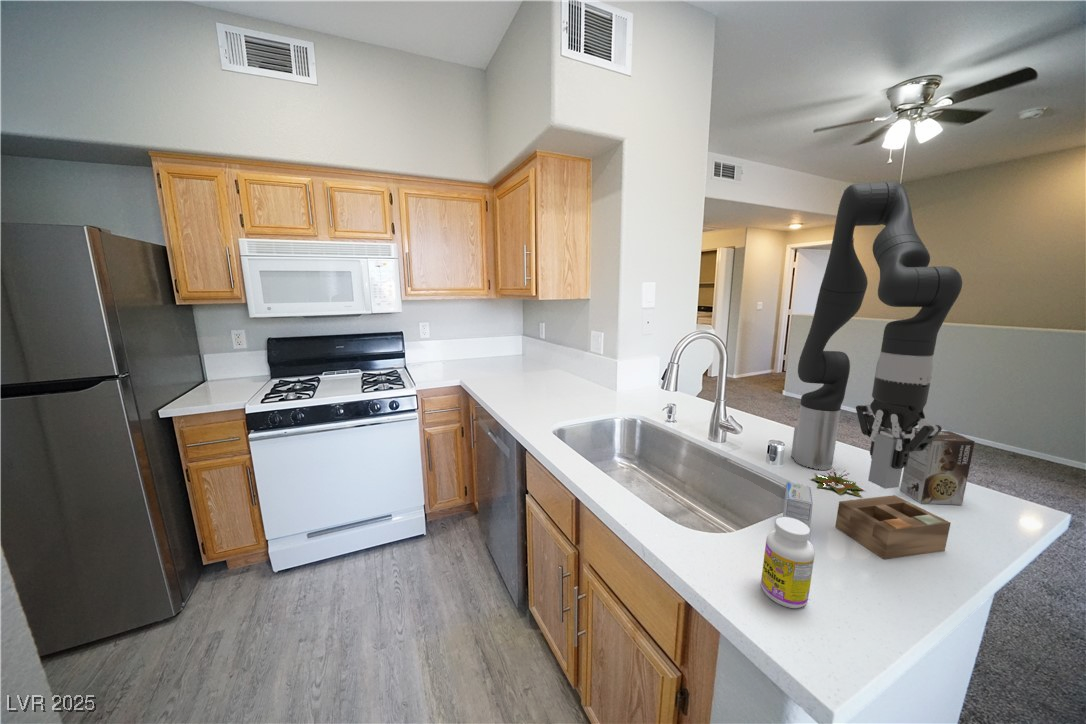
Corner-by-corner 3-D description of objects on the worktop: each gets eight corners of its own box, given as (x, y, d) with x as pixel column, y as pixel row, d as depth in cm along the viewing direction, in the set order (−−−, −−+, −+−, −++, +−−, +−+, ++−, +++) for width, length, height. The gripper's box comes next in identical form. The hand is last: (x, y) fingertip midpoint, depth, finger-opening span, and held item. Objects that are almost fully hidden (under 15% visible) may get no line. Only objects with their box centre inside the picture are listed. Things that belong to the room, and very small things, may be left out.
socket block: (835, 526, 80) (839, 500, 79) (890, 520, 82) (894, 493, 81) (884, 559, 70) (889, 529, 69) (944, 550, 73) (951, 521, 71)
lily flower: (807, 472, 105) (809, 456, 105) (862, 483, 99) (864, 467, 98) (809, 491, 95) (812, 474, 95) (871, 504, 89) (874, 487, 88)
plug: (868, 480, 75) (876, 430, 73) (881, 479, 75) (890, 429, 73) (885, 488, 72) (894, 436, 70) (898, 487, 72) (908, 435, 70)
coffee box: (937, 491, 94) (950, 430, 91) (963, 505, 88) (977, 440, 85) (898, 489, 95) (909, 429, 92) (920, 504, 88) (933, 439, 85)
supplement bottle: (752, 580, 66) (759, 513, 63) (787, 577, 66) (796, 511, 64) (778, 612, 59) (788, 539, 57) (818, 609, 60) (828, 537, 57)
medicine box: (808, 543, 75) (813, 503, 74) (782, 535, 78) (786, 497, 76) (806, 522, 82) (811, 486, 80) (782, 516, 84) (786, 480, 83)
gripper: (848, 370, 76) (836, 450, 79) (929, 387, 62) (911, 483, 65) (879, 368, 77) (866, 447, 80) (965, 385, 63) (946, 479, 67)
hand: (887, 463), depth 73 cm, fingers closed on plug, 3 cm apart
